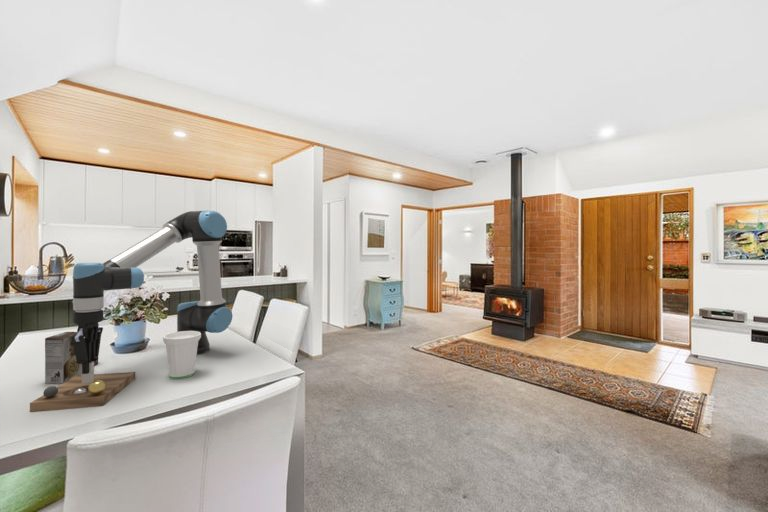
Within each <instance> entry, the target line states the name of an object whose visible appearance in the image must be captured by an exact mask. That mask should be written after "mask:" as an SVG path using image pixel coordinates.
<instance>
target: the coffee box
mask: <svg viewBox="0 0 768 512" xmlns="http://www.w3.org/2000/svg"><path fill="white" fill-rule="evenodd" d="M77 334H78V332H77V331H64V332H61V333H57V334H54V335H52V336H48V337H45V338H44V364H45V365H44V375H45V376H44V383H45V385H49V384H51V385H52V384H63V383H65V382H66V381H68V380H70V379H72V378H73V377H75V376H79V375H82V364H77V361H76V354H75V348H74V342H73V340H72V336H76V335H77Z"/></svg>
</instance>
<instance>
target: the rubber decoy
mask: <svg viewBox="0 0 768 512" xmlns="http://www.w3.org/2000/svg"><path fill="white" fill-rule="evenodd" d="M57 387H58V386H54V385H50V386H47V387H46V388H45V389H44V390H43V395H44V396H45V397H53V396H55V395H56V394H57V393H58V388H57Z"/></svg>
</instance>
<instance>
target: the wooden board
mask: <svg viewBox="0 0 768 512" xmlns="http://www.w3.org/2000/svg"><path fill="white" fill-rule="evenodd" d="M96 380H102V381H104V382H105V384H106V388H105V390H104V391H103V392H102V393H100V394H97V395H93V394H91V393H89V391H88V387H89V385H90V384H91V383H82V375H79V376H75V377H73V378H72V379H70V380H68V381H66V382H65V383H60V385H58V386H56V387H57V388H58V393H57V394H56V395H55V396H53V397H45V396H44V394H43V395H41V396H39V397H38V398H36V399H35V400H32V401H31V402H30V403H29V412H42V411H51V410H52V411H53V410H66V409H76V408H77V409H78V408H91V407H99V406H101V407H103V406H104V405H106V404H107V403H108V402H110V400H112V399H113V398H114V397H115V396H117V394H119V393H120V392H121V391H122V390H124V389H125V388H126V387H127V386H128V385H130V384H131V383H132V382H134V381H135V380H136V371H130V372H129V371H128V372H127V371H126V372H113V373H99V374H98V373H97V374H95V373H94V381H96ZM94 381H93V382H94ZM79 388H85V389H86V390H87V392H83V393H77V394H74V392H75V391H76V390H77V389H79Z"/></svg>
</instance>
